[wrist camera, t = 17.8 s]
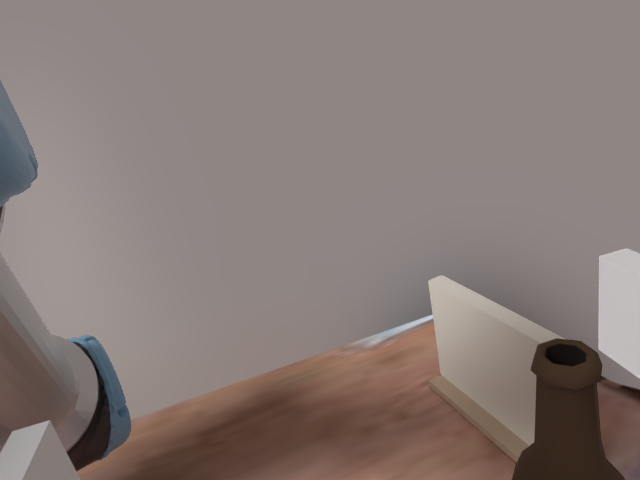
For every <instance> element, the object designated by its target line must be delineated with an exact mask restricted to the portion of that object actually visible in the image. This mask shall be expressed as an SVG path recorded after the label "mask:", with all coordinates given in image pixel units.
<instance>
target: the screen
mask: <svg viewBox="0 0 640 480" xmlns="http://www.w3.org/2000/svg"><path fill="white" fill-rule="evenodd" d="M428 283H429V290H430V297H431V305H432V312H433V319H434V327H435V334H436V341H437V349H438V356H439V364H440V371H441V375H439V376H437V377H435V378H433V379H431V380H429V387H430V388H431V389H432V390H434V391H435V392H436V393H437V394H438V395H439V396H441V397H442V398H443V399H444V400H445V401H446V402H447V403H449V404H450V405H451V406H452V407H453V408H454V409H455V410H457V411H458V412H459V413H460V414H461V415H462V416H463V417H465V418H466V419H467V420H468V421H469V422H470V423H471V424H473V425H474V426H475V427H476V428H477V429H478V430H479V431H481V432H482V433H483V434H484V435H485V436H486V437H488V438H489V439H490V440H491V441H492V442H493V443H494V444H496V445H497V446H498V447H499V448H500V449H501V450H502V451H504V452H505V453H506V454H507V455H508V456H509V457H510V458H512V459H513V460H514V461H515V462H516V463H517V461H518V459H519V457H520V455H521V453H522V451H523V450H524V449H526V448H527V447H528V446H530V445H531V444H533V443H534V438H535V407H536V376H537V375H535V374H534V373H533V372H532V371H531V370H530V369H531V365H532V362H533V358H534V355H535V352H536V348H537V345H538V344H541V343H544V342H547V341H550V340H553V339H556V338H559V339H565V338H563V337H561V336H559V335H557V334H555V333H553V332H551V331H549V330H547V329H545V328H543V327H541V326H540V325H538V324H535V323H534V322H532V321H530V320H528V319H526V318H524V317H522V316H520V315H518V314H516V313H514V312H512V311H510V310H508V309H507V308H505V307H503V306H501V305H499V304H496V303H495V302H493V301H491V300H489V299H487V298H485V297H483V296H481V295H479V294H477V293H475V292H473V291H472V290H470V289H468V288H465V287H464V286H462V285H460V284H458V283H456V282H454V281H452V280H450V279H448V278H446V277H444V276H443V275H441V276H438V277H436V278H434V279H431V280H429V281H428Z"/></svg>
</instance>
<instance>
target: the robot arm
mask: <svg viewBox="0 0 640 480" xmlns="http://www.w3.org/2000/svg"><path fill="white" fill-rule="evenodd" d="M37 168H38V164H37V160H36V157H35V154H34V151H33V148H32V146H31V145H30V143H29V140H28V138H27V135H26V132H25V130H24V128H23V126H22V124H21V122H20V120H19V117H18V116H17V113H16V112H15V109H14V107H13V105H12V103H11V101H10V99H9V97H8V95H7V93H6V91H5V89H4V87H3V85H2V83H1V81H0V232H1V229H2V225H3V221H4V214H5V203H6V202H7V201H8V200H9V198H10V197H12V196H14V195H17V194H20V193H22V192H24V191H25V190H26V189H28V188H29V187H30V186H31V183H32V182H33V181H34V180H35V179H36V177H37ZM598 336H599V337H598V339H599V340H598V341H599V343H598V349H599V350H600V351H601V352H603V353H604V354H605V355H607V356H608V357H610V358H611V359H612V360H614V361H615V362H617V363H618V364H619V365H621V366H622V367H624V368H625V369H626V370H628V371H629V372H631V373H632V374H633V375H635V376H637V377H638V378H639V379H640V254H639V253H637V252H635V251H632V250H630V249H627V248H625V249H622V250H619V251H615V252H612V253H609V254H605V255H602V256H600V257H599V335H598ZM125 403H126V401H125V397H124V394H123V390H122V388H121V385H120V382H119V380H118V377H117V375H116V372H115V370H114V368H113V366H112V363H111V362H110V359H109V357H108V355H107V354H106V352H105V350H104V348H103V347H102V345H101V344H100V343H99V341H98V340H96V338H95V337H93V336H90V335H84V336H81V337H78V338H71V339H68V340H66V339H64V338H61V337H58V336H55V335H51V334H50V332H49V330H48V329H47V327H46V326H45V324H44V323H43V321H42V319H41V318H40V316H39V314H38V313H37V311H36V310H35V308H34V306H33V305H32V303H31V302H30V300H29V298H28V297H27V295H26V294H25V292H24V290H23V289H22V287H21V286H20V284H19V282H18V281H17V279H16V278H15V276H14V274H13V273H12V271H11V270H10V268H9V267H8V265H7V263H6V262H5V260H4V258H3V257H2V255H1V254H0V480H80V478H79V476H78V474H77V472H76V471H78V470H80V469H82V468H84V467H85V466H87V465H89V464H91V463H93V462H94V461H97V460H101V459H103V458H105V457H106V456H107V455H108V454H109V453H110V452H111V451H113V450H114V449H116V448H117V447H119V446H120V445H122V444H123V443H124V442H125V441H126V440H127V439H128V437H129V435H130V431H131V420H130V416H129V411H128V408H127V406H126V405H125Z"/></svg>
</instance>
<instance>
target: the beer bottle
mask: <svg viewBox="0 0 640 480" xmlns="http://www.w3.org/2000/svg"><path fill="white" fill-rule="evenodd" d="M530 370H531V371H532V372H533V373H534V374H535V375H537V376H536V407H535V438H534V443H533V444H531V445H530V446H528V447H527V448H526V449H524V450H523V451H522V453H521V455H520V457H519V459H518V461H517V463H516V466H515V470H514V474H513V478H512V480H625V479H624V477H623V476H622V475H621V473H620V472H619V471H618V470H617V469H616V468H615V467H614V466H613V465H612V464H611V463H610V462H609V461H608V460H607V459H606V458H605V453H604V449H603V445H602V441H601V433H600V420H599V407H598V394H597V382H600V381H601V371H602V363H601V361H600V358H599V355H598V353H597V352H596V351H594V350H593V349H591V348H590V347H588V346H587V345H585V344H584V343H583V342H581V341H575V340H567V339H559V338H556V339H553V340H550V341H547V342H544V343H541V344H538V345H537V348H536V352H535V355H534V358H533V362H532V365H531V369H530Z"/></svg>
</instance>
